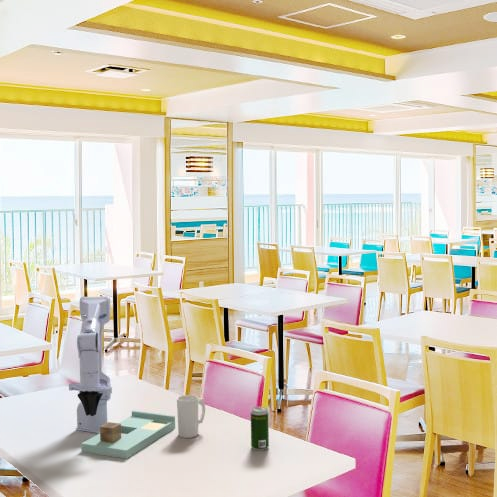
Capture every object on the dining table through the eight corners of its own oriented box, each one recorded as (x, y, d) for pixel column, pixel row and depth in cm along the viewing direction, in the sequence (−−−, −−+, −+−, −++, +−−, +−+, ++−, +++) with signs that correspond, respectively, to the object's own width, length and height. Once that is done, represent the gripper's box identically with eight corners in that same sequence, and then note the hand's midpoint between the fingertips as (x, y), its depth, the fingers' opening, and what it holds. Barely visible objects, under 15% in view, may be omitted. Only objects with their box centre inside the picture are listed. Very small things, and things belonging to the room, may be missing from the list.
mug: (185, 440, 223) (184, 402, 222) (173, 434, 228) (172, 397, 227) (211, 432, 229) (210, 396, 228) (199, 427, 235) (198, 391, 234)
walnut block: (100, 441, 216) (99, 426, 216) (108, 436, 220) (108, 422, 220) (112, 443, 214) (112, 428, 214) (121, 438, 218) (120, 423, 218)
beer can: (272, 449, 214) (271, 410, 213) (256, 452, 212) (255, 412, 211) (263, 443, 219) (263, 405, 218) (248, 446, 217) (247, 408, 216)
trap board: (81, 451, 214) (81, 438, 214) (133, 422, 241) (133, 410, 241) (126, 458, 208) (126, 445, 208) (175, 427, 235) (174, 415, 234)
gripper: (61, 372, 217) (63, 416, 219) (101, 376, 212) (103, 421, 213) (76, 367, 224) (77, 409, 225) (115, 371, 218) (116, 414, 219)
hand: (91, 414), depth 219 cm, fingers closed
